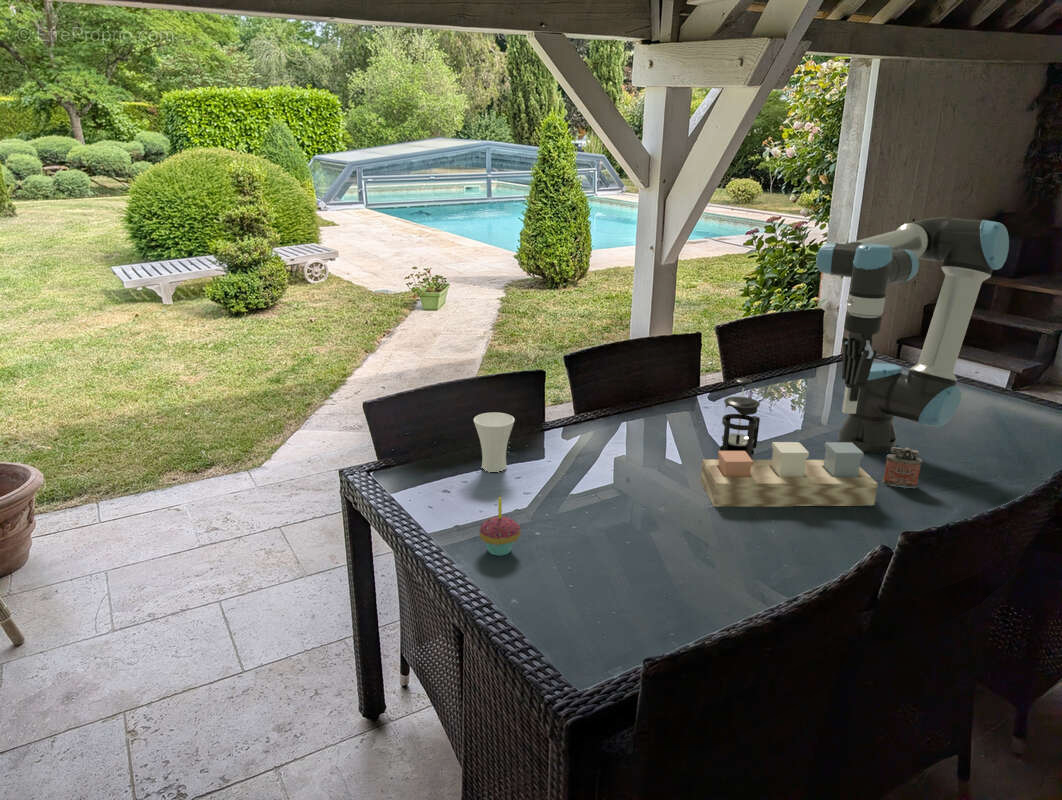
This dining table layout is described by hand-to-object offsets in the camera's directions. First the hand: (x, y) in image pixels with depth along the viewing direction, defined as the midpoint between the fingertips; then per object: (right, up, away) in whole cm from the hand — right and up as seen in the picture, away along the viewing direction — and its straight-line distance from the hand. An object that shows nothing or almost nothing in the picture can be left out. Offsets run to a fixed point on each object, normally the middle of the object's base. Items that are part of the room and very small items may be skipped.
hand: (848, 412), depth 181 cm
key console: (-13, -20, +6) cm, 25 cm away
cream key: (-13, -15, +5) cm, 20 cm away
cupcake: (-81, -29, -21) cm, 89 cm away
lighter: (+18, -19, +12) cm, 29 cm away
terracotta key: (-26, -17, +5) cm, 31 cm away
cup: (-84, -15, +18) cm, 88 cm away
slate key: (0, -15, +5) cm, 15 cm away
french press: (-20, -14, +25) cm, 35 cm away
